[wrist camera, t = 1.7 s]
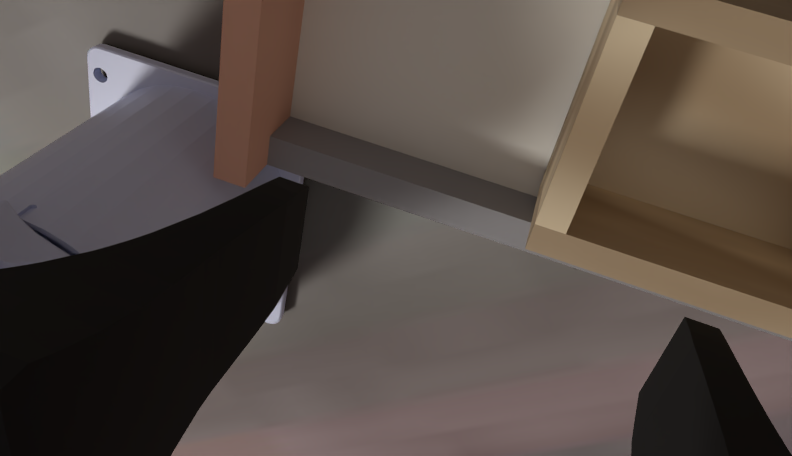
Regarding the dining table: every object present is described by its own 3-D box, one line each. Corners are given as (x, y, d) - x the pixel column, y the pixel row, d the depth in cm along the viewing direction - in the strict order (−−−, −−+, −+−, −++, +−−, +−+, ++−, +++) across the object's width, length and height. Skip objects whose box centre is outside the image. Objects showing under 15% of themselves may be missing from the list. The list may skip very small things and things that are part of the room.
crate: (812, 272, 20) (841, 355, 17) (540, 184, 21) (524, 248, 18) (979, 38, 16) (1054, 96, 13) (633, -59, 17) (632, -24, 14)
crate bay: (845, 310, 22) (882, 405, 18) (271, 121, 24) (213, 177, 20) (1099, -15, 16) (1218, 41, 13) (308, -225, 18) (236, -224, 15)
